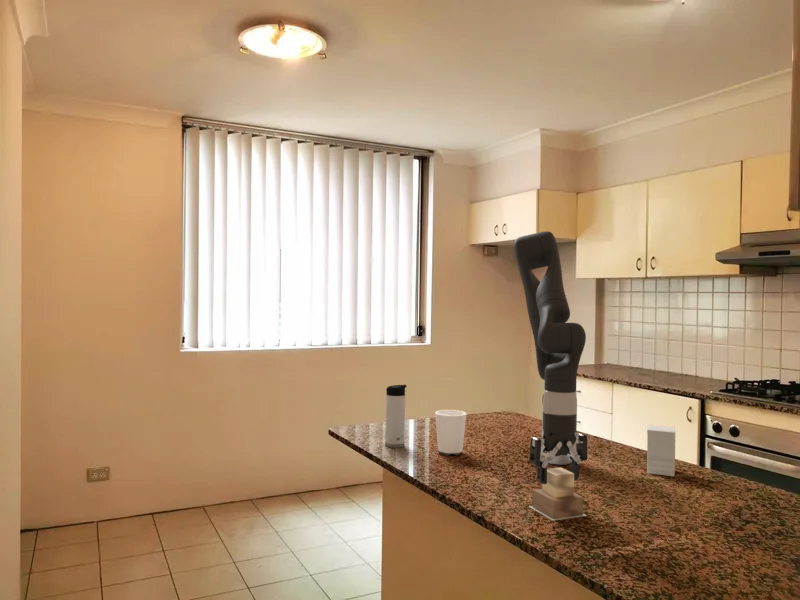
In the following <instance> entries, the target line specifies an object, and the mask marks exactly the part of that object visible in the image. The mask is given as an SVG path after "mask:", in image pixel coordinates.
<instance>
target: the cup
mask: <svg viewBox="0 0 800 600" xmlns="http://www.w3.org/2000/svg"><path fill="white" fill-rule="evenodd" d="M434 413H435V426H436V429H435V430H436V441H437V442H436V443H437V452H438V454H440V455H441V454H444V456H447V457H448V456H450V455H453V456H456V457H457V456H459V455H460V454H462V452H463V448H464V441H465V440H464V439H465V430H466V421H467V413H466V412H465V411H463V410H458V409H457V410H456V409H439V410H437V411H435V412H434Z"/></svg>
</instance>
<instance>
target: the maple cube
mask: <svg viewBox="0 0 800 600" xmlns="http://www.w3.org/2000/svg"><path fill="white" fill-rule="evenodd" d="M541 489H542V491H543V492H545V493H547V494H549V495H551V496H552V497H554V498H559V497H567V496H574V493H575V480H574V473H572V472H570V470H567V469H566V468H563V467H560V466H559V467H550V468H547V484H541Z"/></svg>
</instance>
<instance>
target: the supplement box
mask: <svg viewBox="0 0 800 600" xmlns="http://www.w3.org/2000/svg"><path fill="white" fill-rule="evenodd" d="M646 431H647V433H646V435H647V437H646V439H647V441H646V442H647V446H646V448H647V451H646V453H647V454H646V465H647V466H646V473H647V474H651V475H658V476H659V475H660V476H666V477H667V476H668V477H675V471H676V469H675V468H676V428H675V427H674V426H663V425H652V424H648V427H647V430H646Z"/></svg>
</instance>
